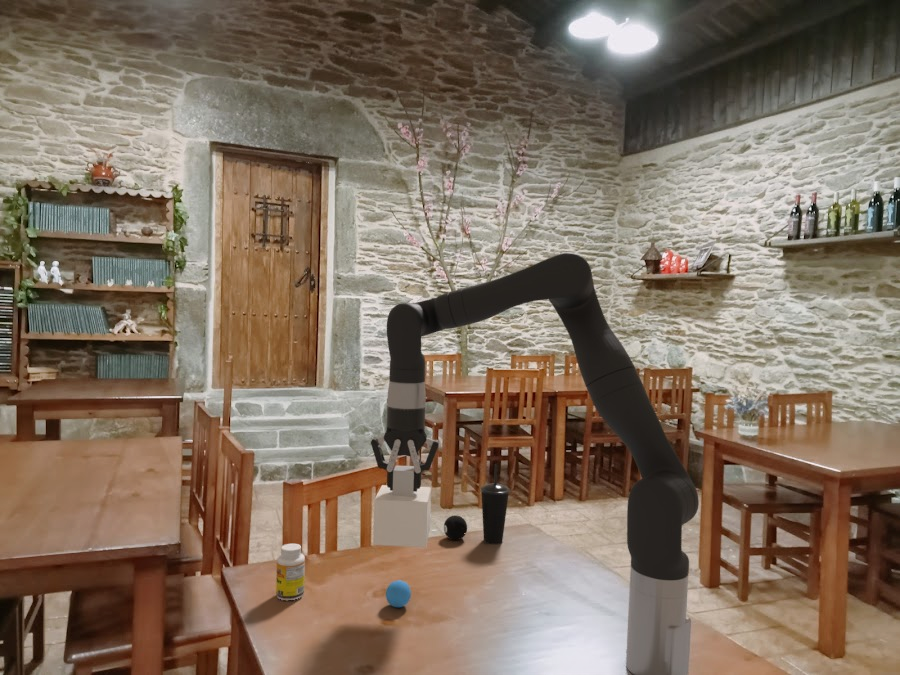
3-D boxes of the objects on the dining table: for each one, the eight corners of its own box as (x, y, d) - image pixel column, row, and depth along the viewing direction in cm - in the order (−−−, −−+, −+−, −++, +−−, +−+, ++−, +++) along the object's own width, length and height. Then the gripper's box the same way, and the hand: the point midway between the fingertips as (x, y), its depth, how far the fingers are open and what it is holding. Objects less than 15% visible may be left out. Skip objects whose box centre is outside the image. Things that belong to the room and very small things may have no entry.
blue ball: (393, 615, 126) (416, 605, 126) (385, 606, 123) (408, 596, 123) (388, 591, 130) (411, 582, 130) (379, 582, 126) (403, 572, 126)
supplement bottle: (275, 591, 131) (276, 542, 131) (303, 588, 133) (304, 540, 132) (276, 603, 126) (277, 553, 125) (305, 600, 127) (306, 550, 127)
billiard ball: (439, 536, 166) (440, 513, 166) (460, 533, 169) (461, 511, 168) (449, 544, 161) (450, 521, 160) (470, 541, 163) (471, 518, 163)
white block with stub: (429, 529, 131) (431, 463, 131) (426, 547, 121) (428, 476, 121) (380, 526, 132) (382, 461, 131) (372, 545, 122) (375, 473, 121)
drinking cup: (506, 547, 160) (509, 469, 159) (476, 544, 161) (479, 466, 160) (509, 537, 167) (512, 462, 166) (480, 534, 169) (483, 459, 168)
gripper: (443, 402, 129) (440, 486, 129) (373, 400, 129) (371, 483, 130) (441, 408, 121) (438, 497, 122) (367, 405, 122) (364, 494, 122)
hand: (403, 489), depth 126 cm, fingers closed on white block with stub, 4 cm apart
